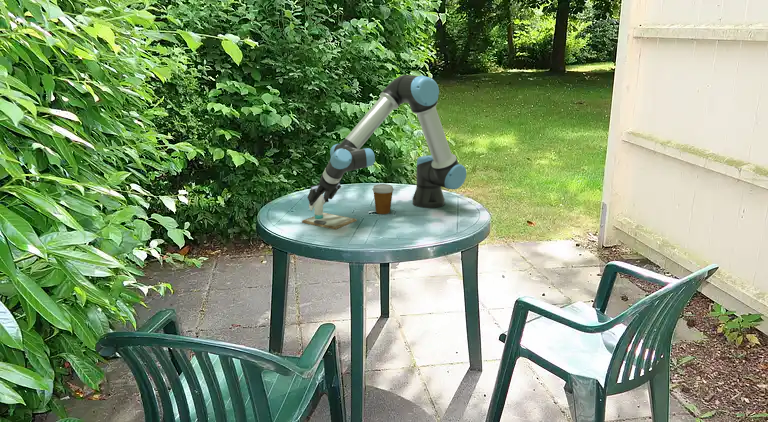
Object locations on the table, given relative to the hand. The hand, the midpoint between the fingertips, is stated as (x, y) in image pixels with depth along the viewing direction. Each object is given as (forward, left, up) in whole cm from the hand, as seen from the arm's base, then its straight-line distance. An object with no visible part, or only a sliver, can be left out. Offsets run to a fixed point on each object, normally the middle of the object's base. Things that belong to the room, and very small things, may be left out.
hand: (314, 207), depth 270 cm
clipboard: (-8, +1, -5) cm, 10 cm away
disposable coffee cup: (-19, -24, -5) cm, 32 cm away
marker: (-3, +2, -4) cm, 5 cm away
